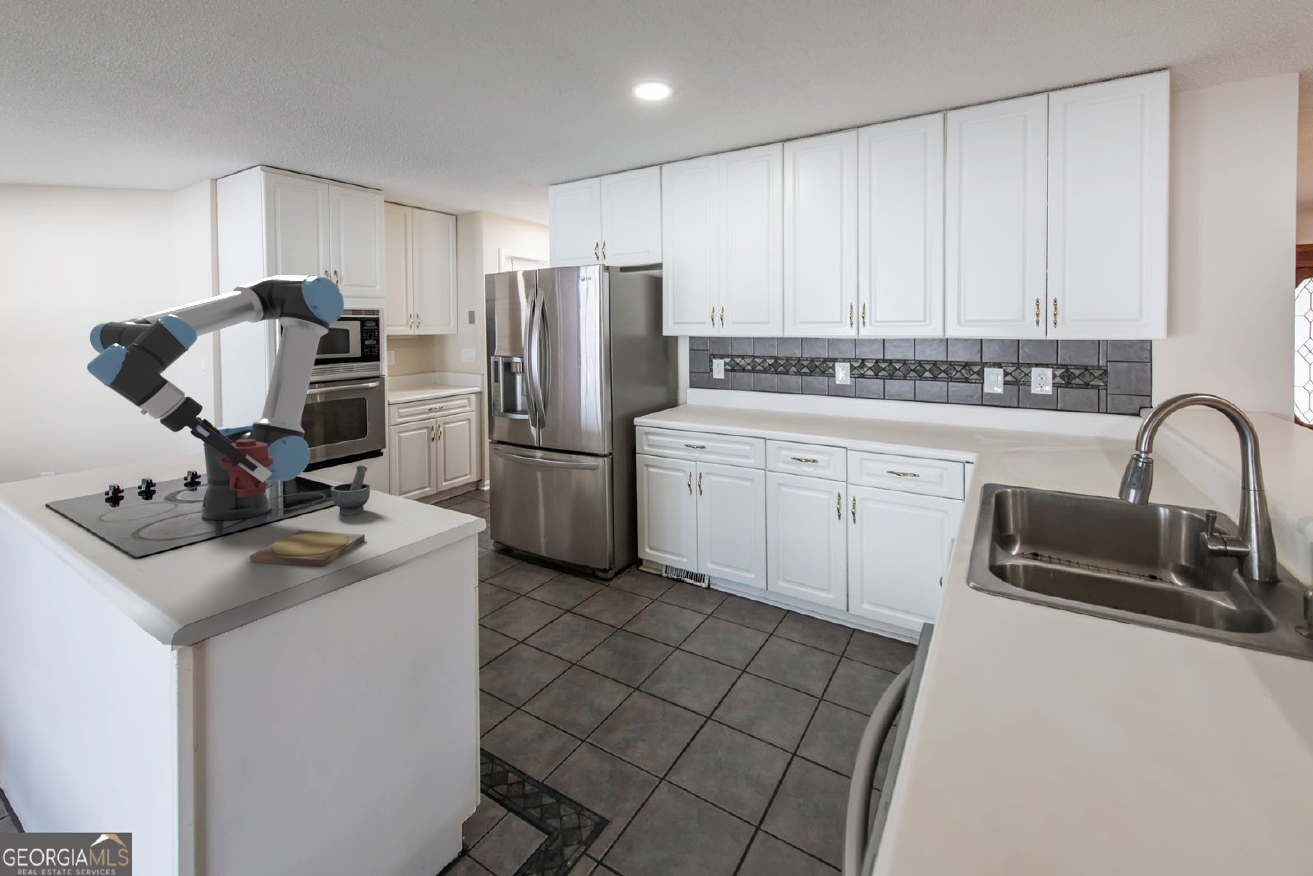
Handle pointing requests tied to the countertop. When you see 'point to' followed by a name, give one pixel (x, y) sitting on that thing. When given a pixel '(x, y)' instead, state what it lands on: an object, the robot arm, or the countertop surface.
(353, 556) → the countertop surface
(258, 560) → the marked board
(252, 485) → the mechanical component
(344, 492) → the mortar and pestle
